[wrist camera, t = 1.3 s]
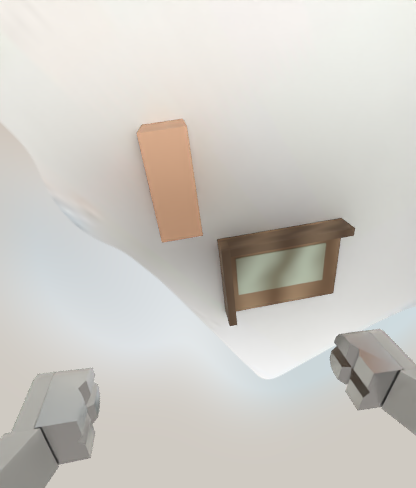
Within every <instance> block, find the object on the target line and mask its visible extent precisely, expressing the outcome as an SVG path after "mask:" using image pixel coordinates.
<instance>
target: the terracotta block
mask: <svg viewBox="0 0 416 488" xmlns="http://www.w3.org/2000/svg"><path fill="white" fill-rule="evenodd" d="M137 137H138V141H139V146H140V150H141V154H142V159H143V163H144V167H145V171H146V176H147V180H148V184H149V189H150V193H151V197H152V201H153V206H154V210H155V214H156V219H157V223H158V227H159V231H160V236H161V240H162V242H168V241H174V240H180V239H186V238H192V237H198V236H203V233H202V227H201V220H200V213H199V206H198V199H197V193H196V186H195V179H194V172H193V165H192V158H191V152H190V145H189V138H188V131H187V126H186V124H185V122H184V120H183V119H178V120H171V121H164V122H157V123H151V124H144V125H141V127H140V129H139V130H138V132H137Z"/></svg>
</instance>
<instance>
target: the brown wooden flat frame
mask: <svg viewBox="0 0 416 488" xmlns="http://www.w3.org/2000/svg"><path fill="white" fill-rule="evenodd" d="M354 231H355V228H354V227H353V226H351V225H350V224H349V223H347V222H346V221H345V220H343V219H342V218H339V219H334V220H328V221H322V222H316V223H310V224H304V225H299V226H293V227H287V228H281V229H275V230H270V231H264V232H258V233H252V234H246V235H240V236H235V237H229V238H223V239H217V241H218V249H219V258H220V266H221V275H222V283H223V292H224V300H225V309H226V314H227V317H228V321H229V325H230V326H233V325H237V319H236V311H241V310H246V309H251V308H257V307H262V306H267V305H273V304H278V303H283V302H289V301H294V300H299V299H305V298H310V297H315V296H321V295H326V294H331V293H333V291H334V283H335V276H336V269H337V262H338V254H339V247H340V240H341V238H343V237H348V236H354Z"/></svg>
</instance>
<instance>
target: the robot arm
mask: <svg viewBox="0 0 416 488" xmlns="http://www.w3.org/2000/svg"><path fill="white" fill-rule="evenodd" d="M334 343H335V344H336V345H337V346H336V347H335V348H334V349H333V350H332V351H331V355H330V363H331V367H332V370H333V372H334V374H335V376H336V377H337V379H338V380H340V381H341V382H343V383H344V384H346V387H345V391H346V393H347V395H348V396H349V398H350V399H351V401H352V402H353V404H354V405H355V407H356V408H357V410H364V409H370V408H377V407H382V409H383V410H384V411H385V412H387V413H388V414H389V415H391V416H392V417H393V418H394V419H396V420H397V421H398V422H399V423H401V424H402V425H403V426H405V427H406V428H407V429H408V430H410V431H411V432H412V433H413V434H415V435H416V364H415V363H414V362H413V361H412V360H411V359H410V358H409V357H408V356H407V355H406V354H405V353H404V352H403V351H402V350H401V348H400V347H399V346H398V345H396V343H395V342H394V341H393V340H392V339H391V338H390V337H389V336H388V335H387V334H386V333H385V332H384V331H382V330H380V329H375V330H367V331H358V332H351V333H345V334H339V335H338V336H337V337H336V338H335V341H334ZM94 377H95V373H94V371H93V368H86V369H77V370H68V371H59V372H50V373H43V374H38V375H37V376H36V377H35V379H34V380H33V382H32V385H31V387H30V389H29V391H28V394H27V397H26V398H25V401H24V403H23V406H22V408H21V410H20V413H19V415H18V417H17V420H16V422H15V424H14V427H13V429H12V432H11V433H6V434H4V435H3V436H2V437H1V438H0V488H45V486H46V485H47V483H48V482H49V480H50V479H51V477H52V476H53V475H54V473H55V471H56V470H57V469H58V467H59V466H58V465H59V464H64V463H69V462H74V461H78V460H83V459H88V458H91V453H92V447H93V442H94V436H95V431H94V428H93V425H92V424H93V423H94V421H95V420H96V419H97V418H98V413H99V407H100V393H99V387H98V384H96V383H94Z"/></svg>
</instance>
